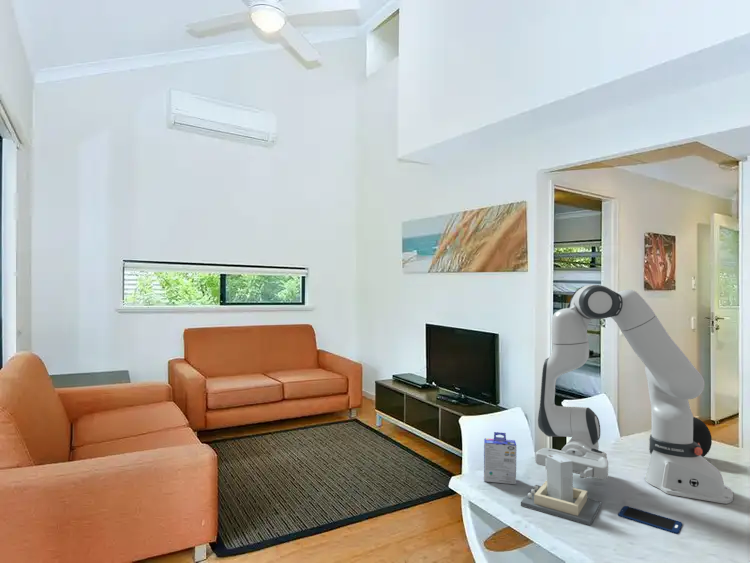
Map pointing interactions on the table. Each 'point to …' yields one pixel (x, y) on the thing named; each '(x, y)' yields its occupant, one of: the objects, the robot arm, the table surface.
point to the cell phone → (651, 519)
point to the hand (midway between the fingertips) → (564, 471)
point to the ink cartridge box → (500, 460)
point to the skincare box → (559, 478)
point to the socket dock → (563, 504)
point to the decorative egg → (701, 435)
